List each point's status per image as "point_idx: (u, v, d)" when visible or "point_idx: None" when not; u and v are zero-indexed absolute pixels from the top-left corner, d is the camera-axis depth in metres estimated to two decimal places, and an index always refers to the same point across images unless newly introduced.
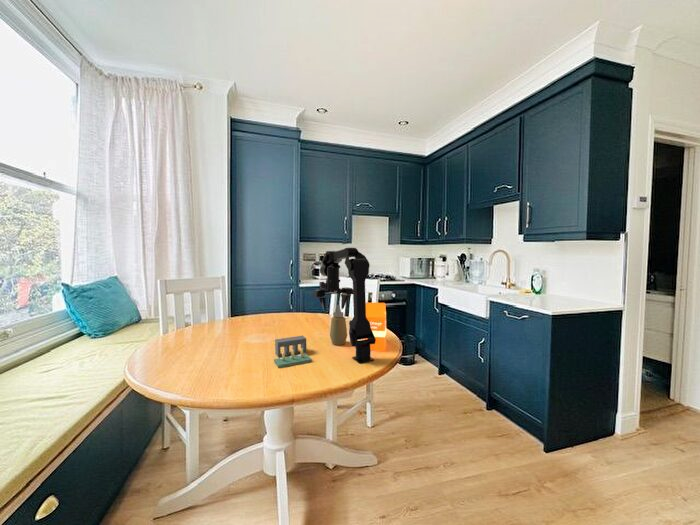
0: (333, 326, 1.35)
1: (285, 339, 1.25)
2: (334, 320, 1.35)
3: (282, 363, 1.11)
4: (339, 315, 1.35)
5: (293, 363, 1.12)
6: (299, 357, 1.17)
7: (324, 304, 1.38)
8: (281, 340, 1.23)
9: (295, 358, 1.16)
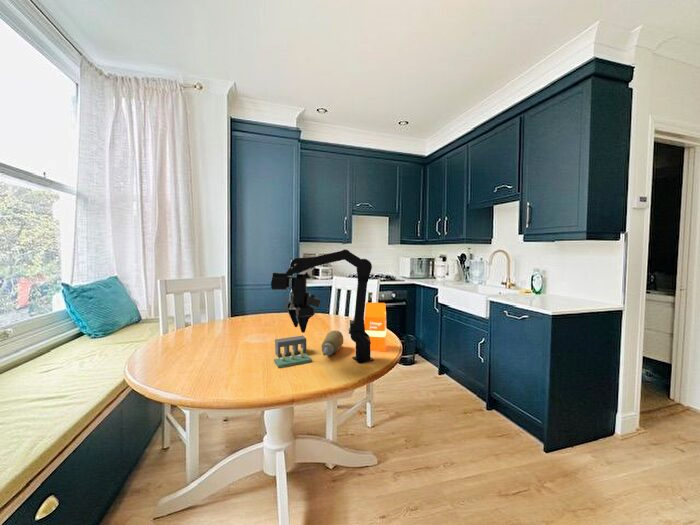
0: None
1: (285, 339, 1.25)
2: None
3: (282, 363, 1.11)
4: None
5: (293, 363, 1.12)
6: (299, 357, 1.17)
7: (291, 318, 1.20)
8: (281, 340, 1.23)
9: (295, 358, 1.16)
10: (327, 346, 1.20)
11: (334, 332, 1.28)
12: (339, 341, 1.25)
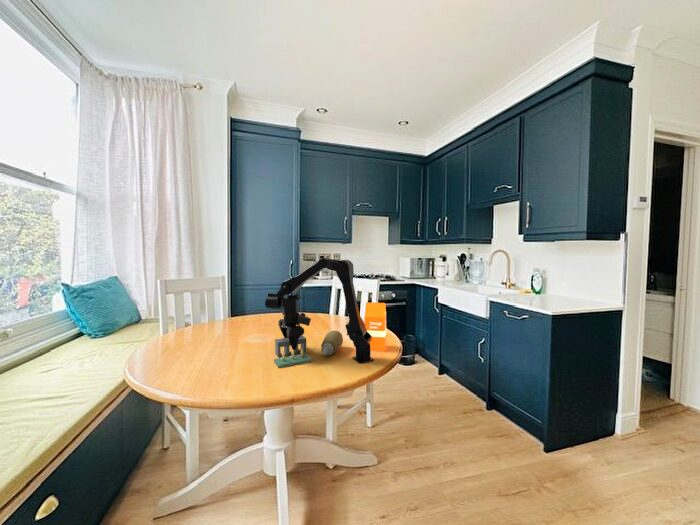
0: None
1: (285, 339, 1.25)
2: None
3: (282, 363, 1.11)
4: None
5: (293, 363, 1.12)
6: (299, 357, 1.17)
7: None
8: (281, 340, 1.23)
9: (295, 358, 1.16)
10: (326, 346, 1.20)
11: (333, 332, 1.29)
12: (338, 341, 1.25)
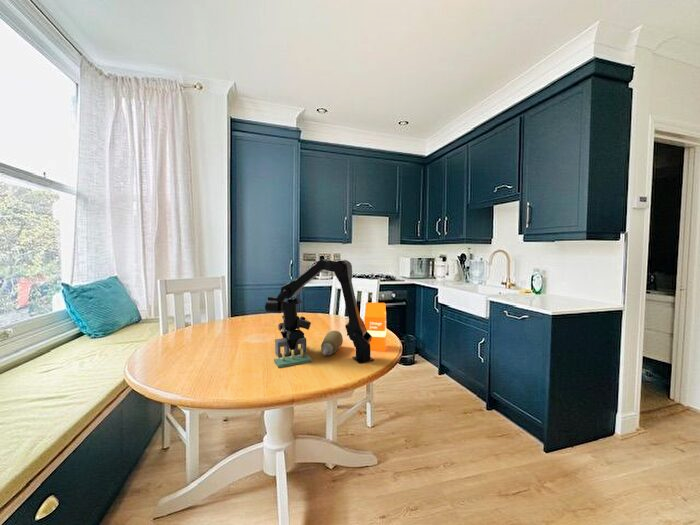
0: None
1: (285, 339, 1.25)
2: None
3: (282, 363, 1.11)
4: None
5: (293, 363, 1.12)
6: (299, 357, 1.17)
7: None
8: (281, 340, 1.23)
9: (295, 358, 1.16)
10: (326, 346, 1.20)
11: (333, 332, 1.29)
12: (338, 340, 1.25)
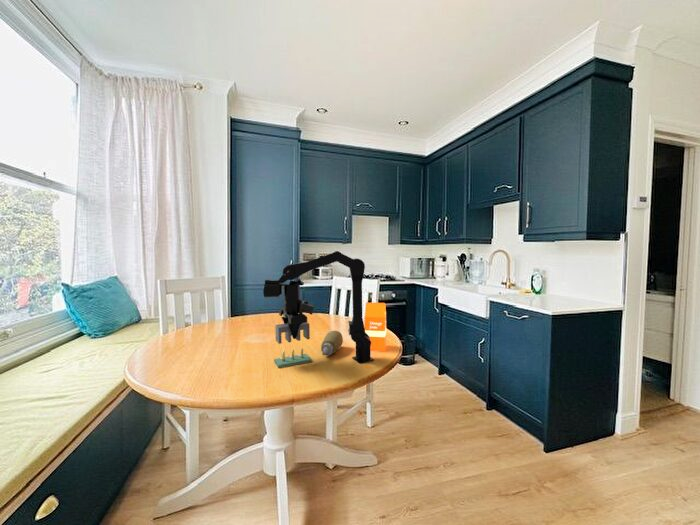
0: None
1: (286, 324, 1.15)
2: None
3: (282, 363, 1.11)
4: None
5: (293, 363, 1.12)
6: (299, 357, 1.17)
7: None
8: (282, 326, 1.13)
9: (295, 358, 1.16)
10: (326, 346, 1.20)
11: (333, 332, 1.29)
12: (338, 340, 1.25)
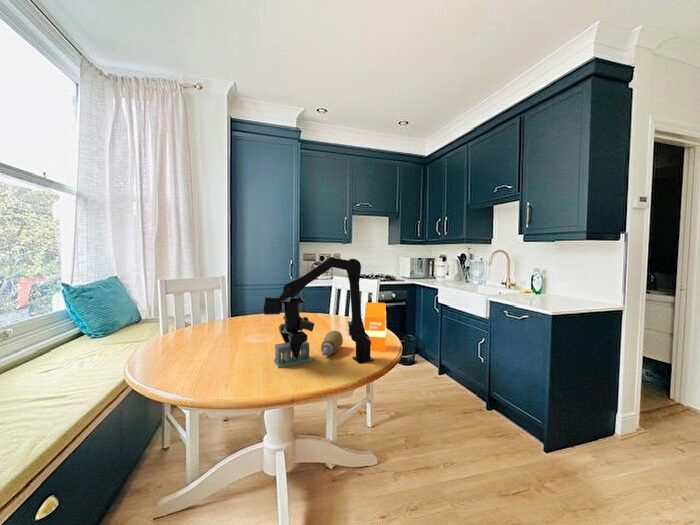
0: None
1: (286, 344, 1.15)
2: None
3: (282, 363, 1.11)
4: None
5: (293, 363, 1.12)
6: None
7: None
8: (282, 346, 1.13)
9: (295, 358, 1.16)
10: (326, 346, 1.20)
11: (333, 332, 1.29)
12: (338, 340, 1.25)
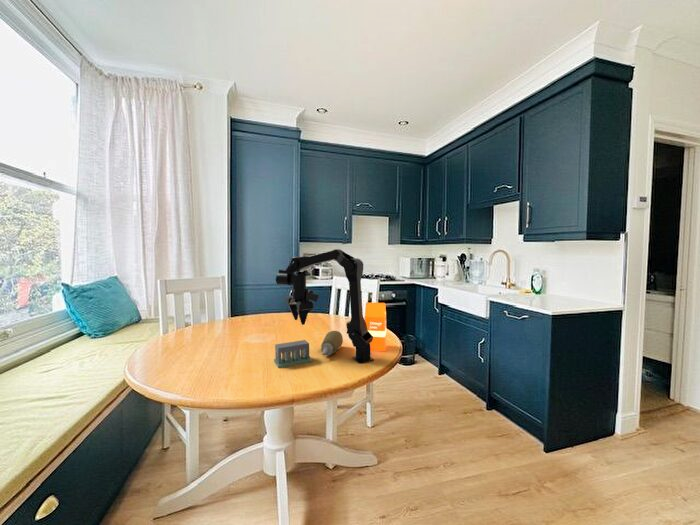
0: None
1: (286, 344, 1.15)
2: None
3: (282, 363, 1.11)
4: None
5: (293, 363, 1.12)
6: None
7: None
8: (282, 346, 1.13)
9: (295, 358, 1.16)
10: (326, 346, 1.20)
11: (333, 332, 1.29)
12: (338, 340, 1.25)
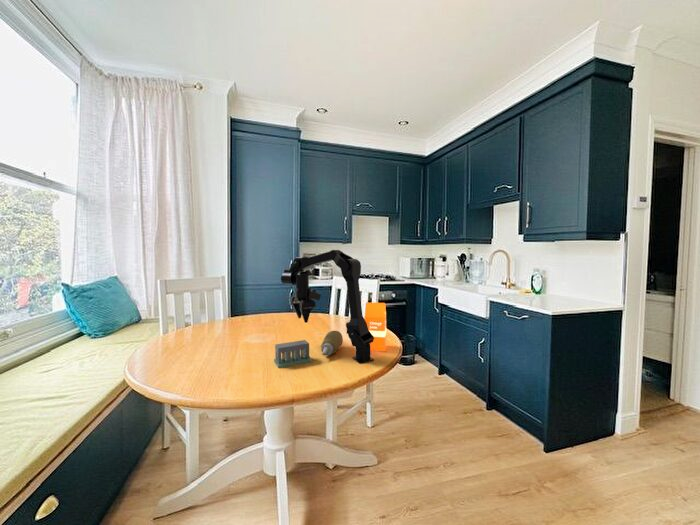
0: None
1: (286, 344, 1.15)
2: None
3: (282, 363, 1.11)
4: None
5: (293, 363, 1.12)
6: None
7: (295, 310, 1.37)
8: (282, 346, 1.13)
9: (295, 358, 1.16)
10: (326, 346, 1.20)
11: (333, 332, 1.29)
12: (338, 340, 1.25)
